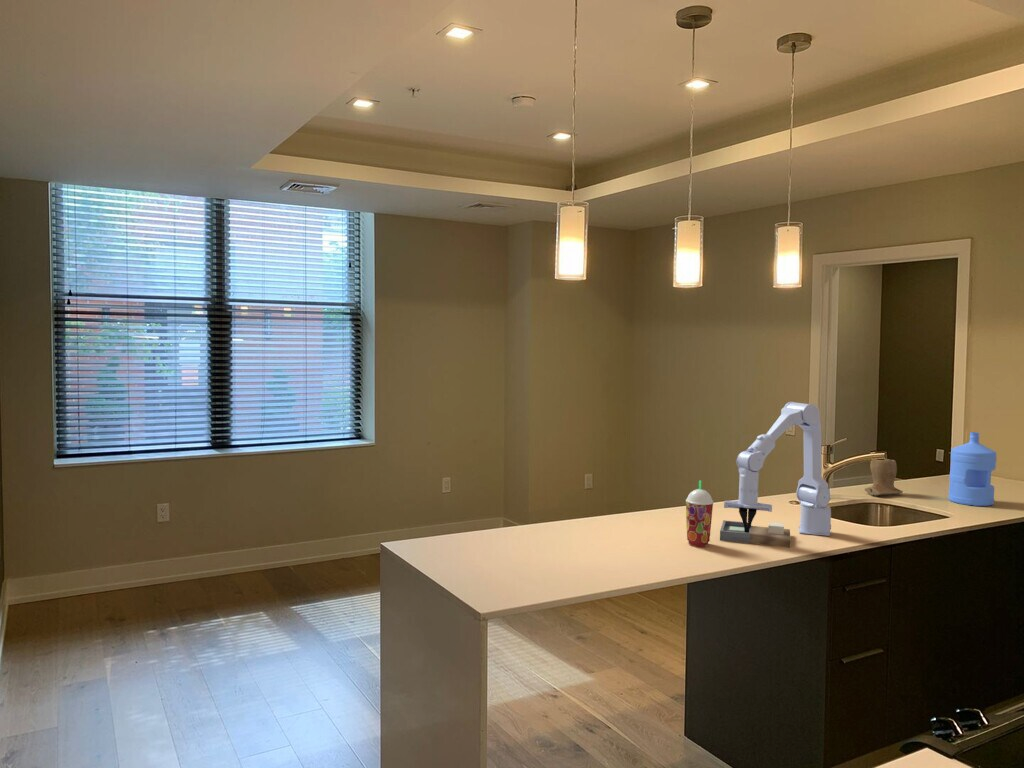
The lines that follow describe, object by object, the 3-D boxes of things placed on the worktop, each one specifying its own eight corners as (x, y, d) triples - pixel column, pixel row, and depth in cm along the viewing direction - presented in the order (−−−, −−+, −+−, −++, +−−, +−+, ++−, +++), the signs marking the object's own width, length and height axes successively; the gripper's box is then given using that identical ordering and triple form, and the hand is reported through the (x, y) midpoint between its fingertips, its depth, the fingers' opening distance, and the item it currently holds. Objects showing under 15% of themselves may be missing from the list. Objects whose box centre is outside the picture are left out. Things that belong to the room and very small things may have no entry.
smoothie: (707, 540, 244) (709, 478, 242) (715, 548, 236) (717, 483, 234) (681, 540, 244) (683, 477, 242) (688, 548, 235) (690, 483, 234)
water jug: (939, 499, 311) (943, 430, 309) (965, 497, 318) (968, 429, 316) (976, 508, 297) (980, 435, 295) (1002, 504, 304) (1007, 434, 302)
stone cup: (883, 490, 329) (885, 455, 328) (907, 496, 318) (908, 460, 317) (856, 492, 324) (857, 457, 323) (878, 498, 313) (880, 461, 312)
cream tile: (783, 531, 249) (783, 523, 249) (783, 534, 245) (783, 526, 245) (768, 529, 251) (769, 522, 251) (768, 533, 247) (768, 525, 246)
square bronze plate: (789, 535, 252) (789, 529, 252) (790, 547, 238) (790, 540, 238) (751, 531, 256) (751, 525, 256) (749, 543, 242) (749, 536, 242)
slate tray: (751, 531, 256) (751, 522, 256) (749, 543, 242) (749, 533, 242) (723, 529, 259) (723, 520, 259) (719, 540, 245) (720, 530, 244)
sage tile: (744, 533, 248) (744, 527, 248) (743, 536, 244) (743, 531, 244) (729, 531, 250) (730, 526, 249) (728, 535, 245) (729, 529, 245)
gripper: (724, 490, 243) (722, 532, 244) (772, 493, 238) (770, 537, 239) (725, 485, 250) (724, 527, 251) (772, 489, 245) (771, 531, 246)
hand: (746, 531), depth 246 cm, fingers closed
